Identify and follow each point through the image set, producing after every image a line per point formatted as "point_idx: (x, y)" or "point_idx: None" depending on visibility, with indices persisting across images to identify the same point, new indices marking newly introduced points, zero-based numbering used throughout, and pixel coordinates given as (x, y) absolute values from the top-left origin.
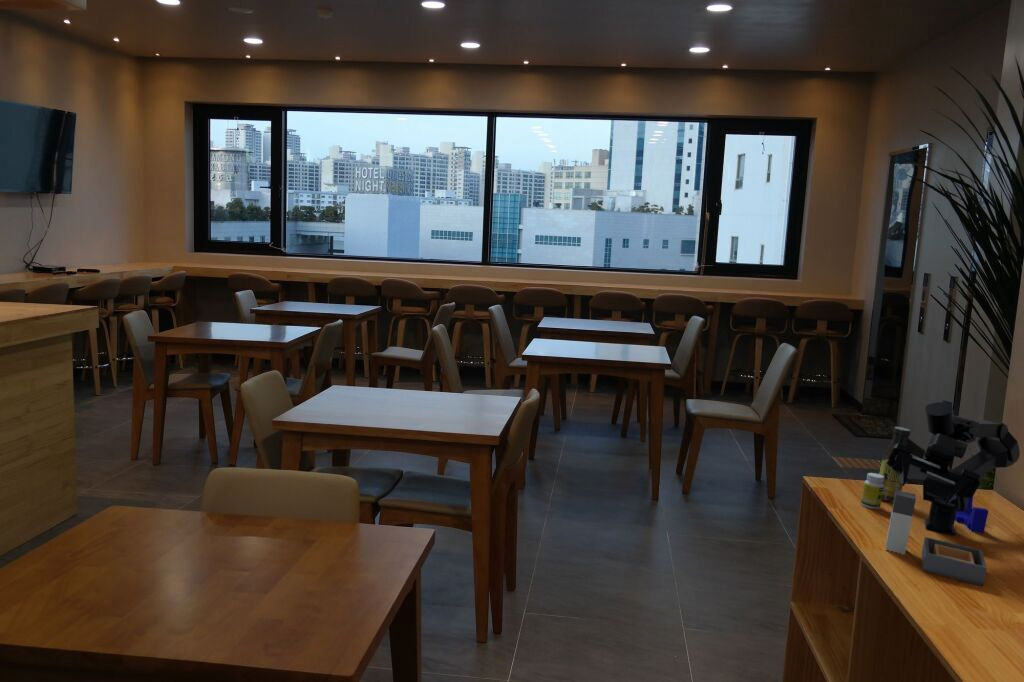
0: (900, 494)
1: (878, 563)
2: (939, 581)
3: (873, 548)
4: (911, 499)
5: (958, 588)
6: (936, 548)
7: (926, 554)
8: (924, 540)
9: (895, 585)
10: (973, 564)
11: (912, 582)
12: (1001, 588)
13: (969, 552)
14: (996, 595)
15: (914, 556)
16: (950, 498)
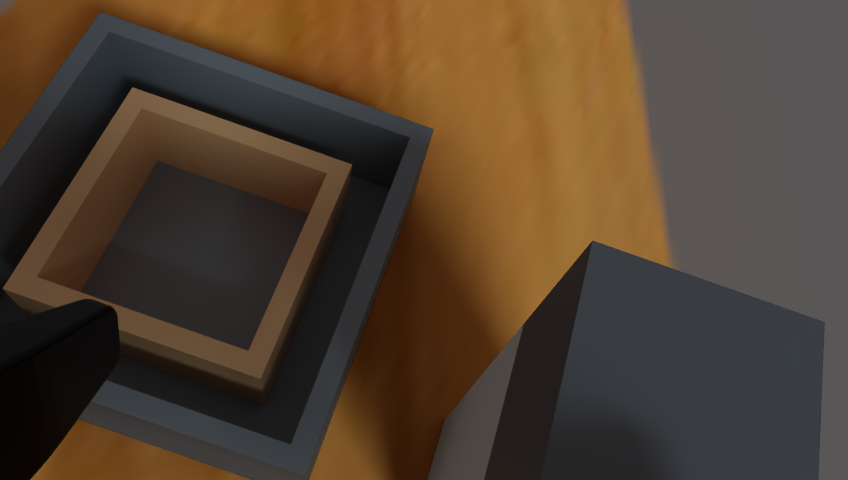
0: (765, 363)
1: (644, 225)
2: (368, 93)
3: None
4: (631, 266)
5: (297, 40)
6: (296, 275)
7: (430, 133)
8: (320, 436)
9: (608, 10)
10: (170, 39)
11: (519, 53)
12: (11, 90)
13: (26, 282)
14: (114, 9)
15: (380, 419)
16: (34, 316)
